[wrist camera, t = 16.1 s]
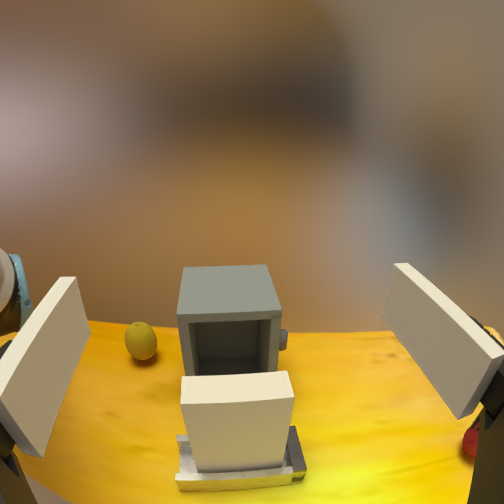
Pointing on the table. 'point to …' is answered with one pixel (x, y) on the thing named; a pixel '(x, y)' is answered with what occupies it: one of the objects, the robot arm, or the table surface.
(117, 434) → the table surface
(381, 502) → the table surface
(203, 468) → the door
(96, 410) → the table surface
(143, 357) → the lemon
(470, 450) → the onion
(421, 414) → the table surface
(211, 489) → the drawer
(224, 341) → the cabinet
